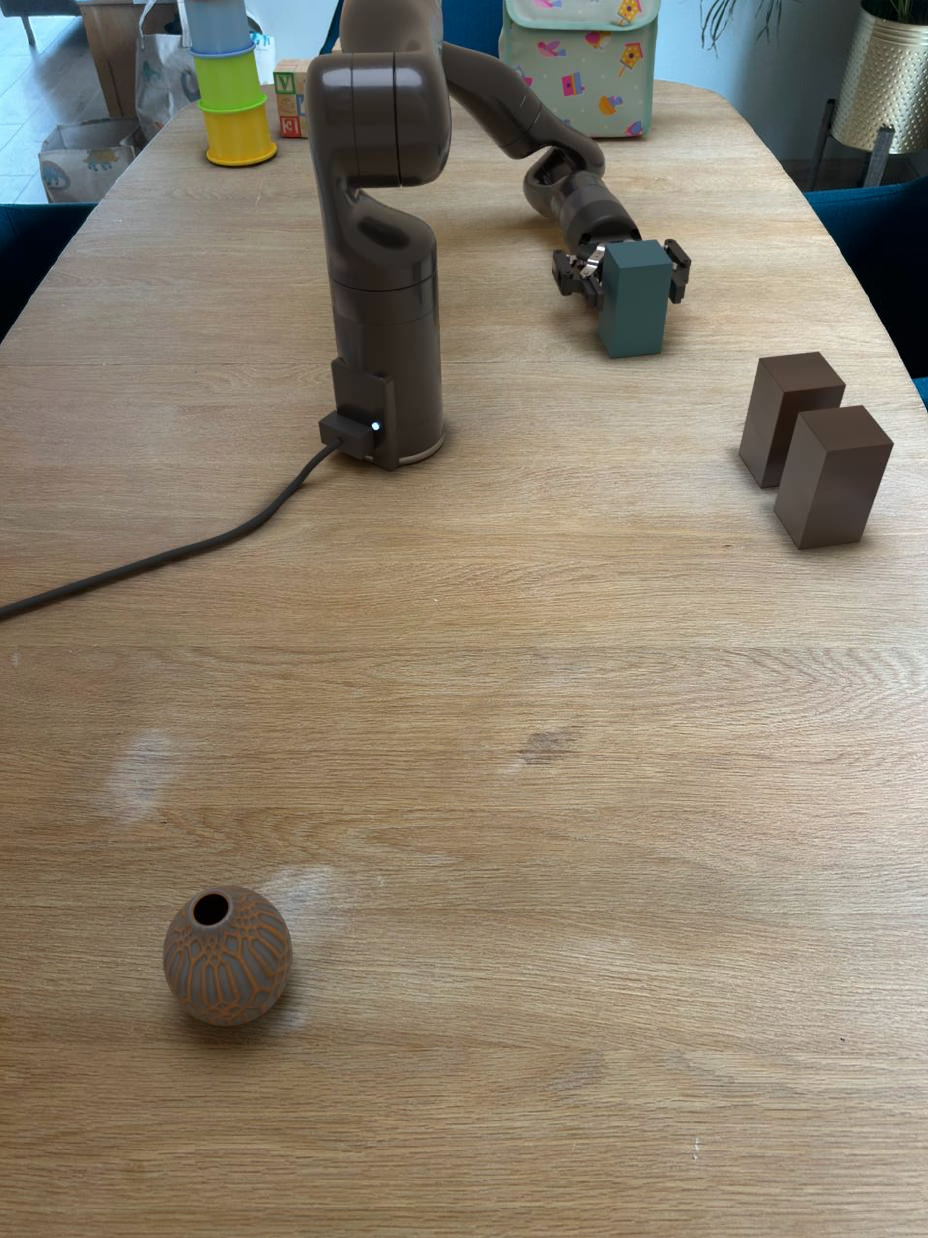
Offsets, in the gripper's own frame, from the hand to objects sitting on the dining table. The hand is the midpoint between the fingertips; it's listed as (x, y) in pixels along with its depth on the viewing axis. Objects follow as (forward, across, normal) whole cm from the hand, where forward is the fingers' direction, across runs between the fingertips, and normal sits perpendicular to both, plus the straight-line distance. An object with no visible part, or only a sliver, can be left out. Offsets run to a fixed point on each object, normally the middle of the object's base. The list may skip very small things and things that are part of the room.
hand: (640, 299), depth 102 cm
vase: (+63, -42, +6) cm, 76 cm away
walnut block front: (+31, +7, +6) cm, 32 cm away
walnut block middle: (+22, +7, +6) cm, 24 cm away
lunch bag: (-66, +10, +6) cm, 67 cm away
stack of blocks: (-71, -23, +6) cm, 75 cm away
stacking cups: (-65, -40, +6) cm, 77 cm away
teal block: (-2, 0, +6) cm, 6 cm away
